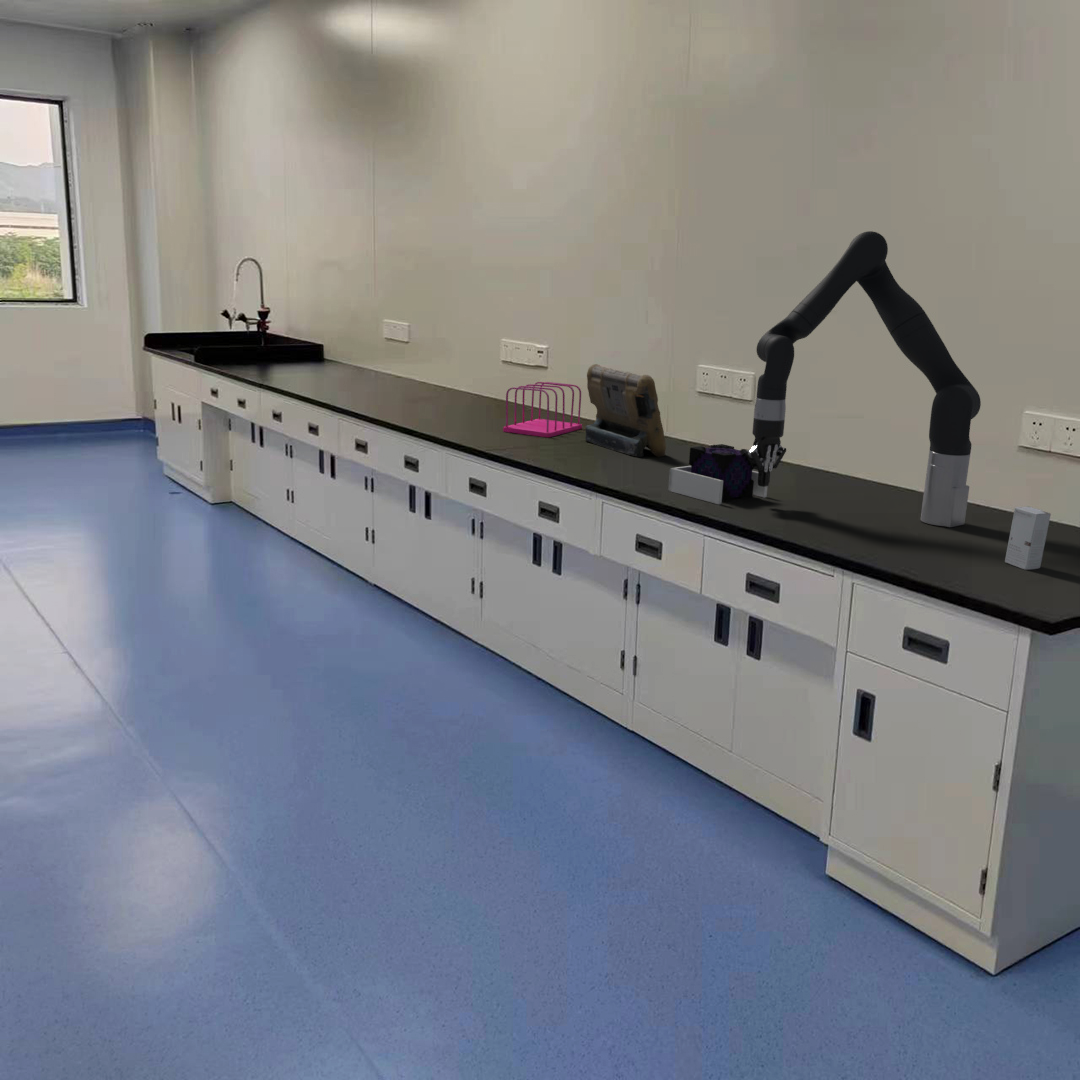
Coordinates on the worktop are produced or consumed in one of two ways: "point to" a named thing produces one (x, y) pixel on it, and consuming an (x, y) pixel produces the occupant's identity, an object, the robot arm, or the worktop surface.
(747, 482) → the energy cube
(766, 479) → the robot arm
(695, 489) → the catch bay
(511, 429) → the file sorter
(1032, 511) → the skincare box
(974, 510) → the worktop surface
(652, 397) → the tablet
